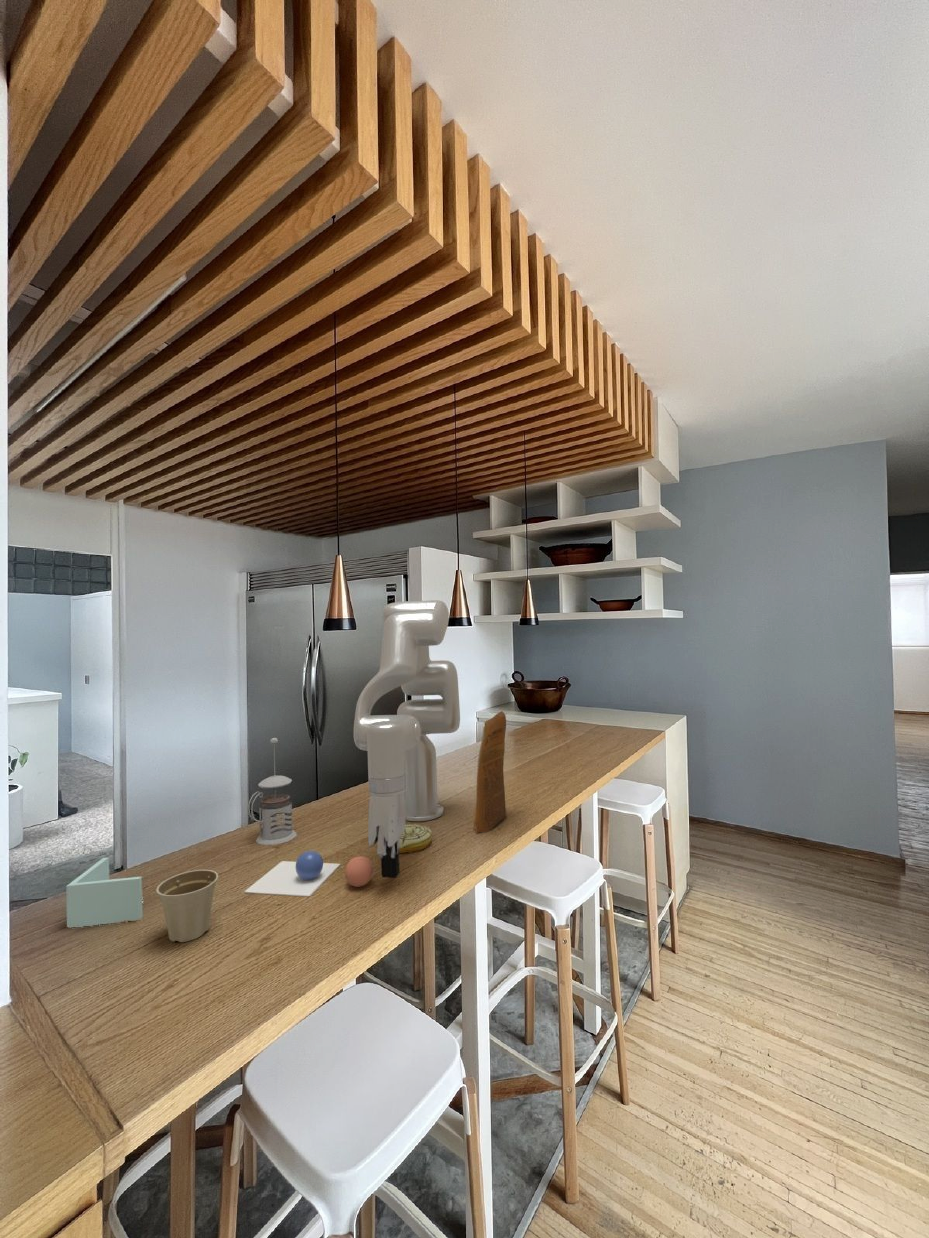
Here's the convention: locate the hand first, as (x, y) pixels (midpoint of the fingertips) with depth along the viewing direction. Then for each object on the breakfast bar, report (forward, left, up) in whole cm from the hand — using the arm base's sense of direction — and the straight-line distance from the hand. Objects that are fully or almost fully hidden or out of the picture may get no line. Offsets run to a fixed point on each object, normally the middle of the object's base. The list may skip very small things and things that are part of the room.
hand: (390, 875), depth 104 cm
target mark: (0, -21, -2) cm, 21 cm away
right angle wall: (+15, -49, -2) cm, 51 cm away
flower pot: (+21, -29, -2) cm, 36 cm away
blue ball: (0, -18, +1) cm, 18 cm away
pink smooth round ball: (+2, -6, +1) cm, 6 cm away
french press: (-20, -38, -2) cm, 43 cm away
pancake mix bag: (-35, +16, -2) cm, 38 cm away
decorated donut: (-19, -2, -2) cm, 19 cm away
